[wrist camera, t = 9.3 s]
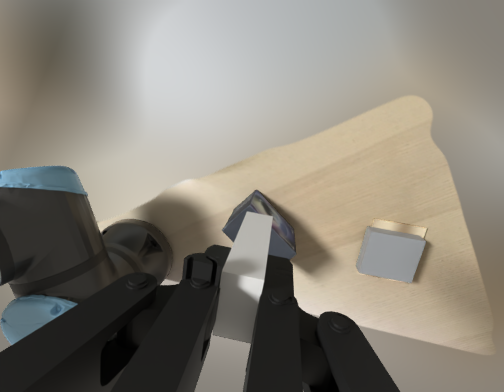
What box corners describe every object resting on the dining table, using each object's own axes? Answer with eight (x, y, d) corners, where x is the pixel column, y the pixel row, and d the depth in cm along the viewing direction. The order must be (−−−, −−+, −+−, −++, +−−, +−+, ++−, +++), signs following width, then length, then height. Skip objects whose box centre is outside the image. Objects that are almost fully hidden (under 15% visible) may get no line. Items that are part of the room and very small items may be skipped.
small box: (296, 228, 52) (299, 254, 42) (270, 249, 54) (267, 279, 44) (257, 187, 51) (250, 204, 41) (232, 210, 53) (219, 231, 43)
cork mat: (357, 272, 53) (358, 273, 53) (373, 218, 50) (374, 218, 50) (406, 281, 53) (407, 283, 52) (425, 227, 50) (427, 228, 49)
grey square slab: (359, 273, 50) (411, 283, 49) (371, 231, 48) (426, 241, 47) (355, 265, 52) (405, 275, 52) (367, 225, 50) (419, 235, 50)
